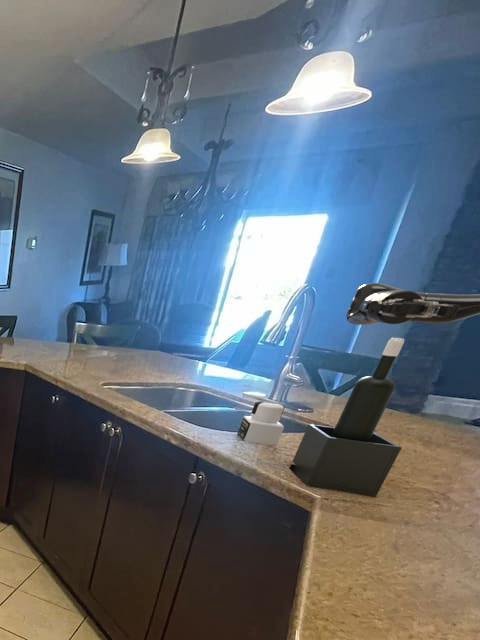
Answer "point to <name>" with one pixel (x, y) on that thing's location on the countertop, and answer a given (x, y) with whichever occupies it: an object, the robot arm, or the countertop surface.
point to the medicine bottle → (262, 424)
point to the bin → (343, 461)
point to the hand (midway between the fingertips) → (421, 309)
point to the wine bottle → (368, 399)
